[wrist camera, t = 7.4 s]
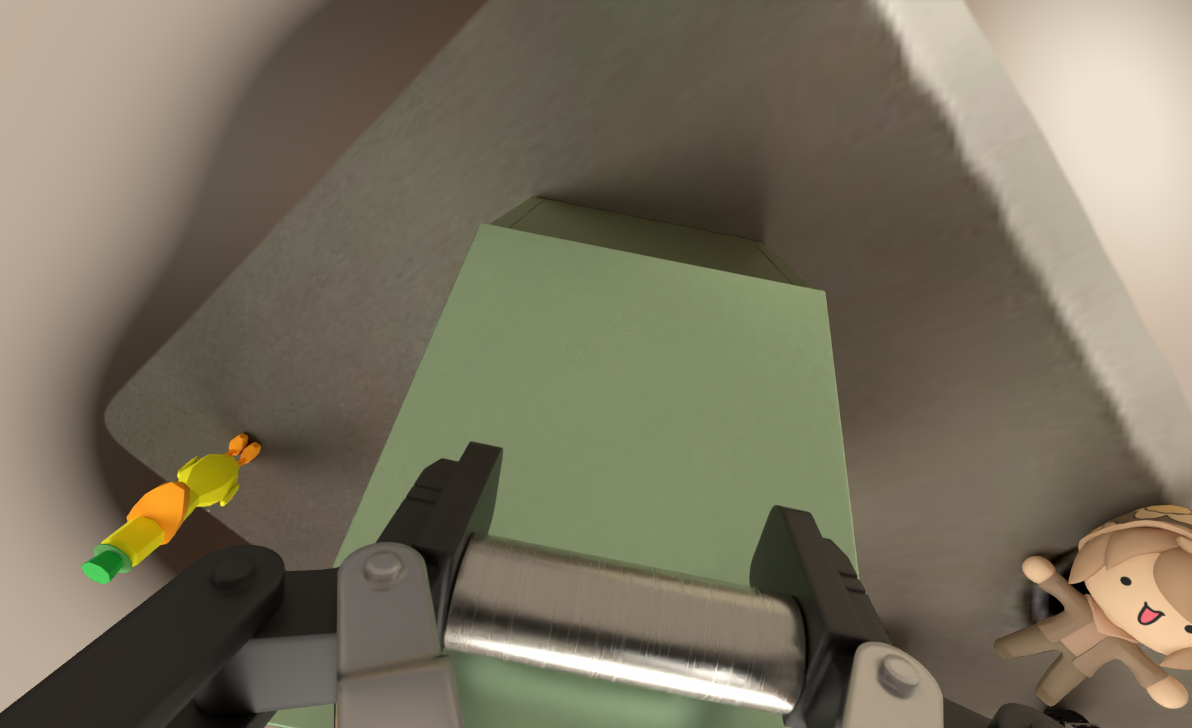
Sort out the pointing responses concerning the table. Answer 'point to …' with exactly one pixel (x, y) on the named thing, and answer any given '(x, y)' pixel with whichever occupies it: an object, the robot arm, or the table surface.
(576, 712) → the bin lid
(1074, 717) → the smartwatch
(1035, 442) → the table surface
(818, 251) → the table surface
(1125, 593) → the action figure
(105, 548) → the toy figure
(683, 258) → the bin
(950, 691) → the table surface
